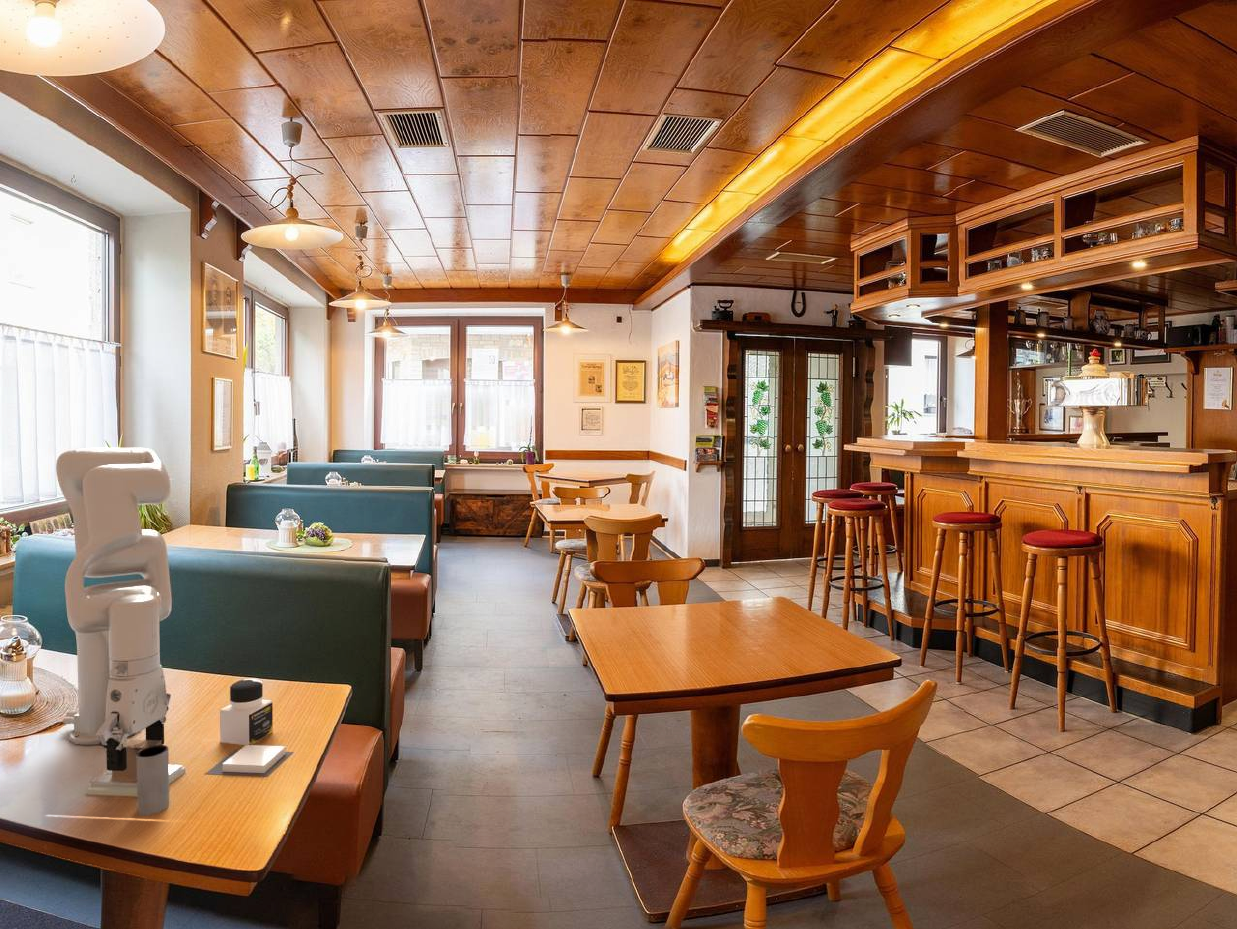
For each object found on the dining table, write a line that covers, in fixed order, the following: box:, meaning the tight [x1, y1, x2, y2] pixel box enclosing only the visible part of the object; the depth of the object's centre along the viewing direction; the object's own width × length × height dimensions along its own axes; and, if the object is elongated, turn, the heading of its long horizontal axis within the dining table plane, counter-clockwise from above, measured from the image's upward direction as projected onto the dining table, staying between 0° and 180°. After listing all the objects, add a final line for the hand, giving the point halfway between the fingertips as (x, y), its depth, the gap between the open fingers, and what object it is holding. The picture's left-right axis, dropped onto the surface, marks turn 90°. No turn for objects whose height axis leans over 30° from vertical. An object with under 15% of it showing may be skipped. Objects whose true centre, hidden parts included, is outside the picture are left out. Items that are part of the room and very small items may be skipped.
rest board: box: [85, 766, 186, 797], centre depth 130 cm, size 12×9×1 cm
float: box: [89, 738, 183, 788], centre depth 130 cm, size 12×7×6 cm, turn 88°
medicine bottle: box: [219, 678, 274, 746], centre depth 149 cm, size 7×7×12 cm
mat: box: [204, 749, 295, 778], centre depth 138 cm, size 12×10×1 cm
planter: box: [136, 744, 170, 816], centre depth 122 cm, size 4×4×10 cm
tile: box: [223, 744, 287, 773], centre depth 138 cm, size 2×8×8 cm
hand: (136, 757), depth 130 cm, fingers open, 9 cm apart
